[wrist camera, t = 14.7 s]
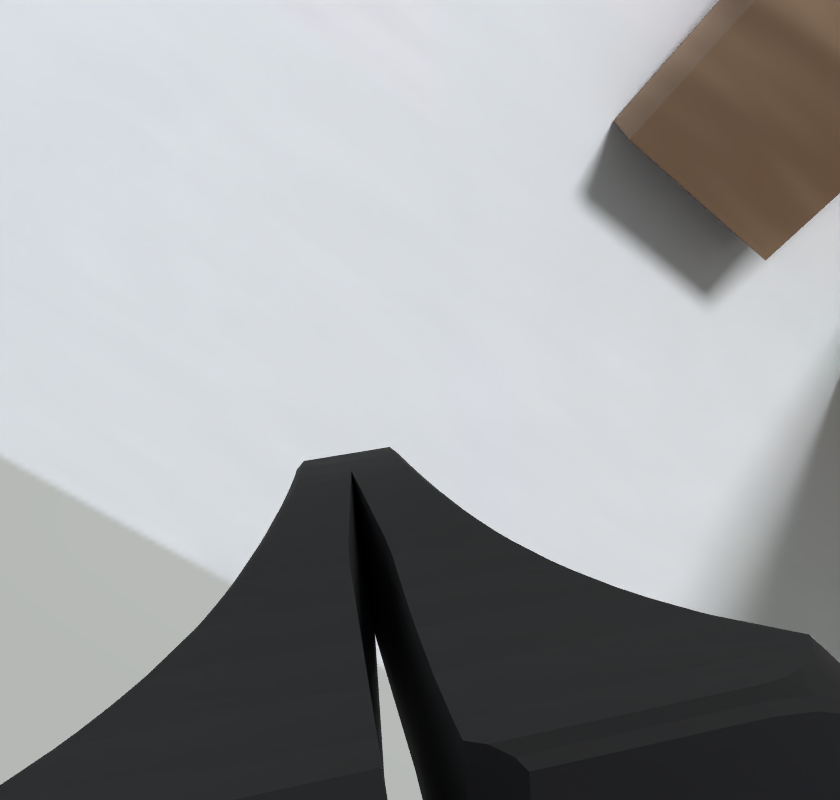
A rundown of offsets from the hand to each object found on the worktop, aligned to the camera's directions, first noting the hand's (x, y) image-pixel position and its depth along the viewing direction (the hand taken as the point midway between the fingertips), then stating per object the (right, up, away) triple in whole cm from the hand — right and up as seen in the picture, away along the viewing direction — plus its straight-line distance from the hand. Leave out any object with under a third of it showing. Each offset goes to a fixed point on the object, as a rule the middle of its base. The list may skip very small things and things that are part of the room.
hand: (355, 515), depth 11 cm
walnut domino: (+8, +7, +8) cm, 13 cm away
